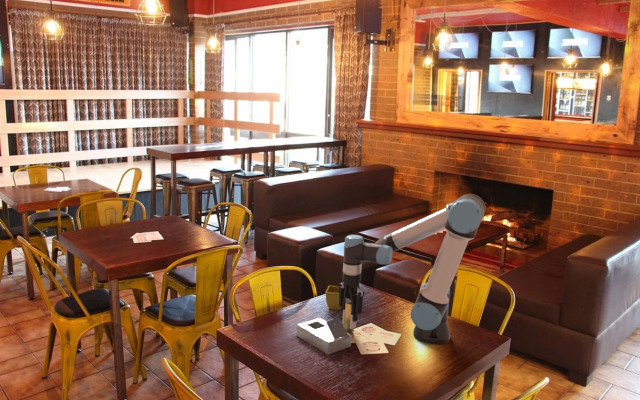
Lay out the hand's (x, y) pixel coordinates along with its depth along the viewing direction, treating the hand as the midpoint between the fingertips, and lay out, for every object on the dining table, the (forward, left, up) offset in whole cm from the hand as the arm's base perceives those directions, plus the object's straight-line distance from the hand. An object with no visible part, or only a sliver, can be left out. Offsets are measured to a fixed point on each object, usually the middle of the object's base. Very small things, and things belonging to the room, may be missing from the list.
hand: (349, 325), depth 237 cm
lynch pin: (0, 0, -4) cm, 4 cm away
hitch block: (+1, +13, -4) cm, 14 cm away
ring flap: (-7, +13, +4) cm, 15 cm away
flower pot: (+24, -14, -4) cm, 28 cm away
